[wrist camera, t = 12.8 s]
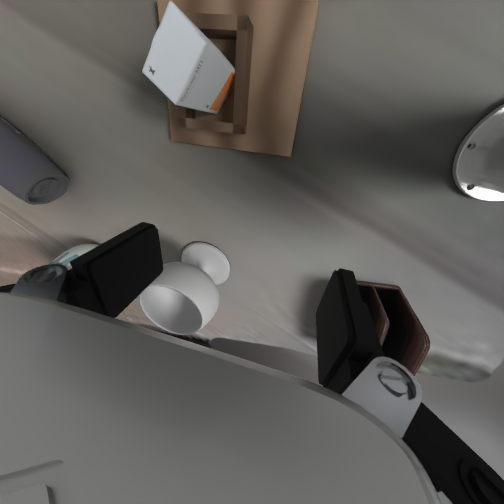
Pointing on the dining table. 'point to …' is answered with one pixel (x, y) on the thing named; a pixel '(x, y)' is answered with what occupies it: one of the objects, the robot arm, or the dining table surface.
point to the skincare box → (188, 64)
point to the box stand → (251, 72)
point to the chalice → (187, 290)
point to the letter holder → (396, 324)
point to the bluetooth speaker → (28, 168)
